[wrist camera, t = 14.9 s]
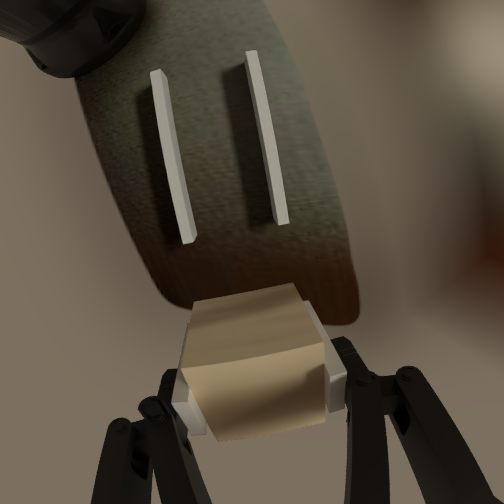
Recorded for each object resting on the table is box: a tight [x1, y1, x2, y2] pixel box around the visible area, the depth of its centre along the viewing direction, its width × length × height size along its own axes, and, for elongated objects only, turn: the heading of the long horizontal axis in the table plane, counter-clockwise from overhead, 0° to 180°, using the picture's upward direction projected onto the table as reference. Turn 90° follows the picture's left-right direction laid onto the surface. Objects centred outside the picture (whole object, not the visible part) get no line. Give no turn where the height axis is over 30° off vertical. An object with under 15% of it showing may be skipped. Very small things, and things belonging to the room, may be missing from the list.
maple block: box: [180, 283, 325, 441], centre depth 14 cm, size 6×6×6 cm
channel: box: [150, 50, 289, 244], centre depth 24 cm, size 17×10×3 cm, turn 10°
